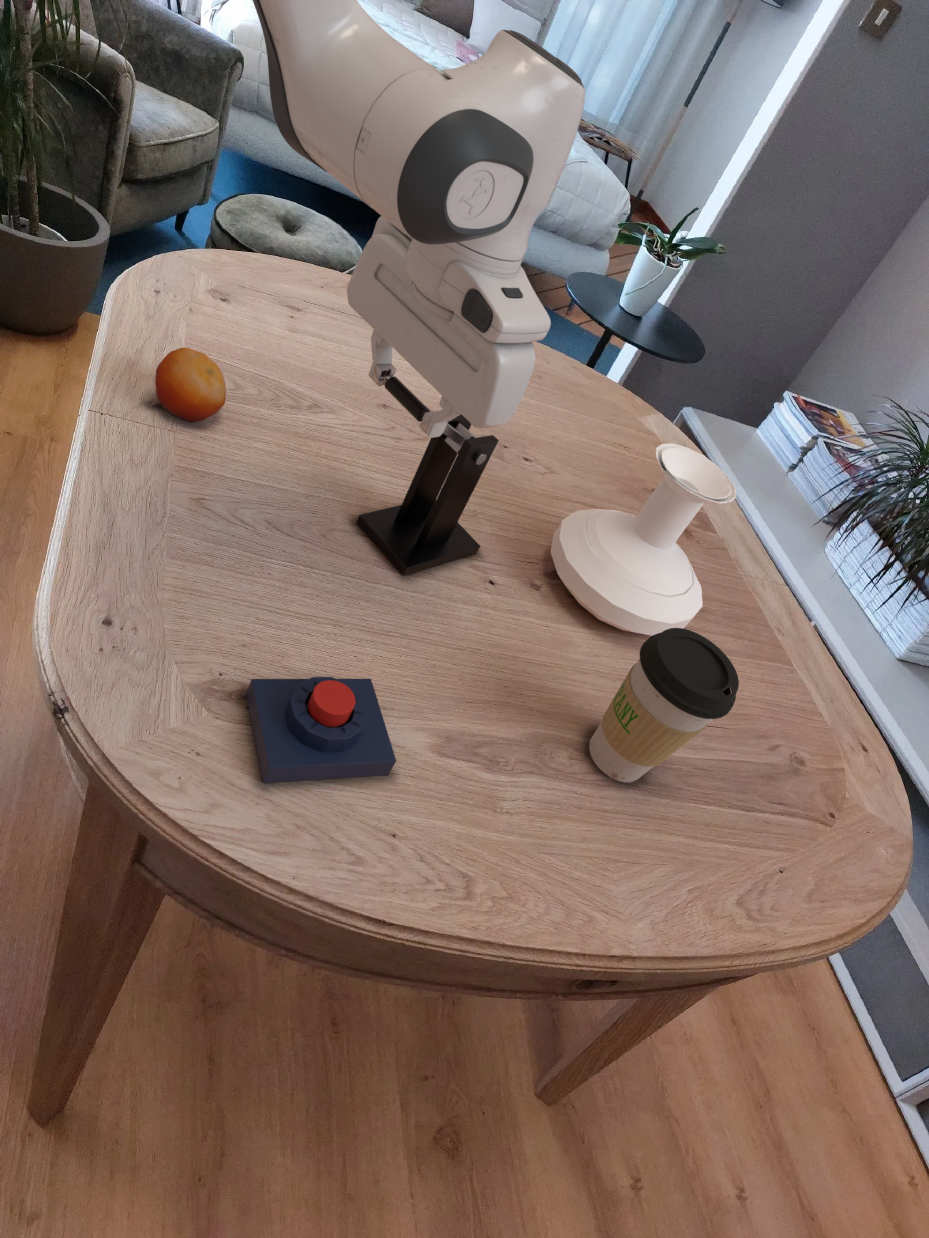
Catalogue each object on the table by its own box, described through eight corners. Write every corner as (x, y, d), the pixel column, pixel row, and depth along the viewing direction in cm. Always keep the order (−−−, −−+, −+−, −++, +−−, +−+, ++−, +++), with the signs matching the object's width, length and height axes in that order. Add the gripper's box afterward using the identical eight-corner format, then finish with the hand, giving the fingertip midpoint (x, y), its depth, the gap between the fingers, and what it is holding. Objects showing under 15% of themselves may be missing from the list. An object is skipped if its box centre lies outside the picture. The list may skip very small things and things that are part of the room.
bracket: (403, 576, 92) (457, 462, 82) (355, 522, 95) (402, 407, 85) (476, 554, 100) (534, 448, 90) (430, 505, 103) (481, 397, 93)
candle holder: (581, 654, 95) (674, 527, 83) (515, 533, 106) (587, 407, 94) (707, 651, 105) (806, 539, 93) (634, 542, 117) (713, 429, 104)
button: (312, 728, 68) (318, 715, 67) (303, 693, 71) (309, 680, 69) (353, 726, 70) (359, 714, 69) (344, 692, 72) (350, 679, 71)
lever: (411, 422, 76) (428, 402, 75) (378, 389, 77) (395, 369, 77) (475, 469, 89) (491, 452, 89) (446, 440, 91) (461, 423, 91)
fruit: (153, 363, 98) (197, 326, 95) (202, 416, 102) (247, 382, 98) (123, 394, 92) (169, 355, 89) (176, 448, 96) (223, 414, 92)
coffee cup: (608, 704, 91) (684, 610, 81) (674, 772, 87) (762, 682, 78) (554, 739, 84) (631, 641, 74) (624, 814, 80) (714, 721, 71)
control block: (262, 783, 67) (274, 755, 65) (245, 694, 73) (256, 665, 70) (388, 775, 73) (403, 748, 70) (363, 693, 78) (377, 665, 76)
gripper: (357, 197, 70) (313, 343, 79) (515, 337, 63) (447, 480, 72) (412, 203, 75) (364, 340, 83) (565, 335, 67) (495, 470, 76)
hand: (403, 406), depth 77 cm, fingers open, 6 cm apart
